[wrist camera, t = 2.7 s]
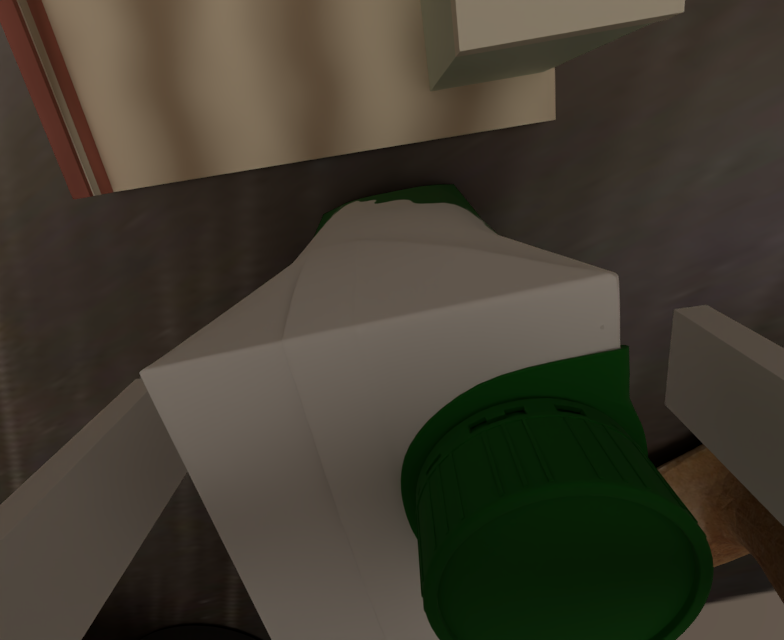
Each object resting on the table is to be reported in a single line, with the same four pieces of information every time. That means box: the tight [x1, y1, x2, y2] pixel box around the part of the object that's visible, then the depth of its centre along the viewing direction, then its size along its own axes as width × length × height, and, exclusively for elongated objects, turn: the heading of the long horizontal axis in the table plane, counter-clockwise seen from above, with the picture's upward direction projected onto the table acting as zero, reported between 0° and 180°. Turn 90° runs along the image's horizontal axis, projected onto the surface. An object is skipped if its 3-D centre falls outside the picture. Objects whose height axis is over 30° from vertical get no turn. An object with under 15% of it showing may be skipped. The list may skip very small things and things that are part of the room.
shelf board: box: [0, 0, 556, 199], centre depth 19 cm, size 22×10×4 cm, turn 99°
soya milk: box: [139, 184, 713, 640], centre depth 16 cm, size 9×9×20 cm
